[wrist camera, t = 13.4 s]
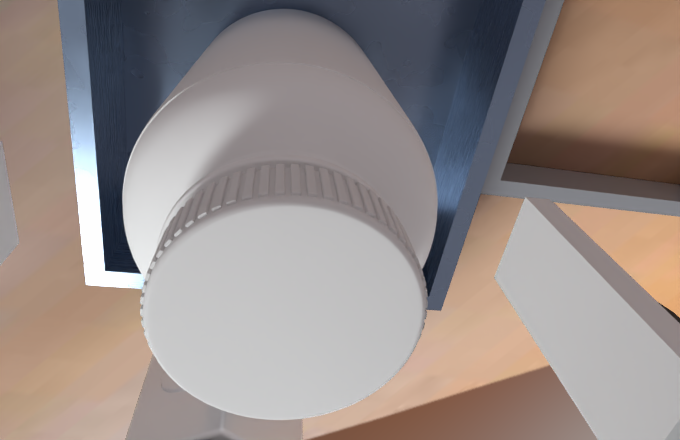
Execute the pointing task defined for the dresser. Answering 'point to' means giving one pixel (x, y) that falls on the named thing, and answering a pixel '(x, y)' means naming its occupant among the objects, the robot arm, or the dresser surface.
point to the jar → (196, 416)
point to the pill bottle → (281, 222)
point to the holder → (563, 182)
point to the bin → (369, 33)
